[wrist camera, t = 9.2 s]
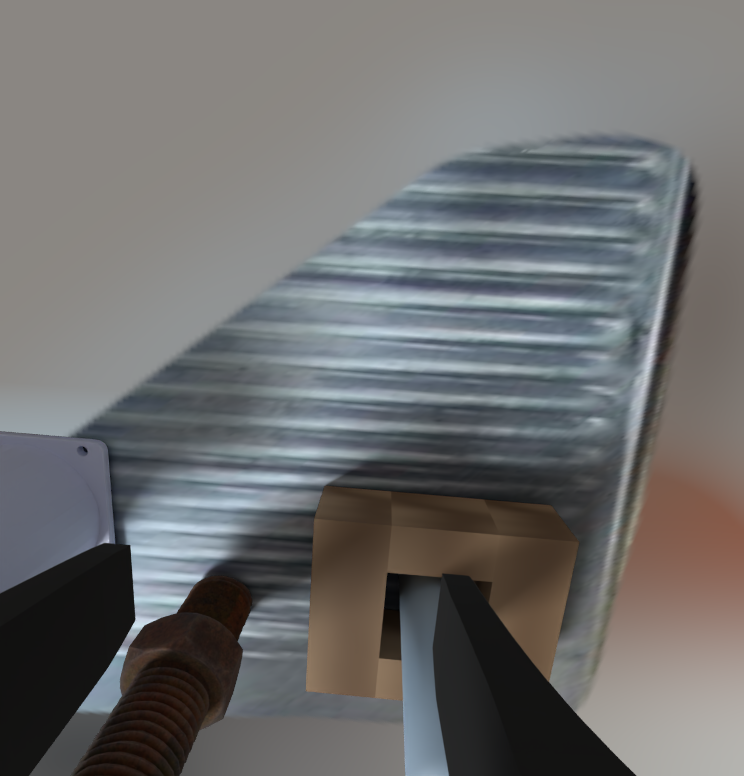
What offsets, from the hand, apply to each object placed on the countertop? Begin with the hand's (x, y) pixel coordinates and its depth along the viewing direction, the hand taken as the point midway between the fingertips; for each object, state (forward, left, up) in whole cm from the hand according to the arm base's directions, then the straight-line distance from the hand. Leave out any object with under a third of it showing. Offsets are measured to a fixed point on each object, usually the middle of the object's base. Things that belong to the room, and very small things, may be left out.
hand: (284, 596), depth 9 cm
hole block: (+5, -7, -10) cm, 13 cm away
